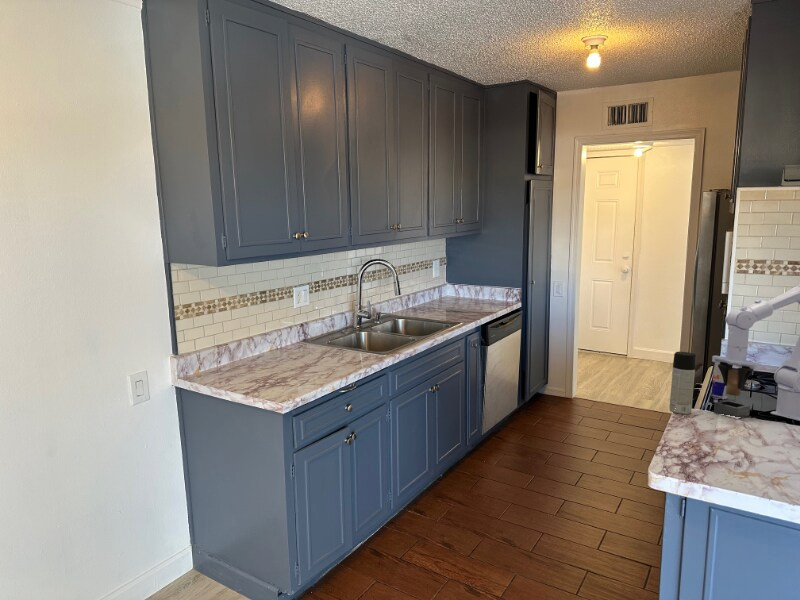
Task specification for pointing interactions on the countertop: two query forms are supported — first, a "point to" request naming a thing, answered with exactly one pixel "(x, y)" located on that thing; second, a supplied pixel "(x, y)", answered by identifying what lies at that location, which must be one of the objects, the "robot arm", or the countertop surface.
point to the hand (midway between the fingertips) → (733, 387)
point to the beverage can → (718, 384)
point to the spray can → (682, 382)
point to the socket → (731, 408)
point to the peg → (733, 382)
